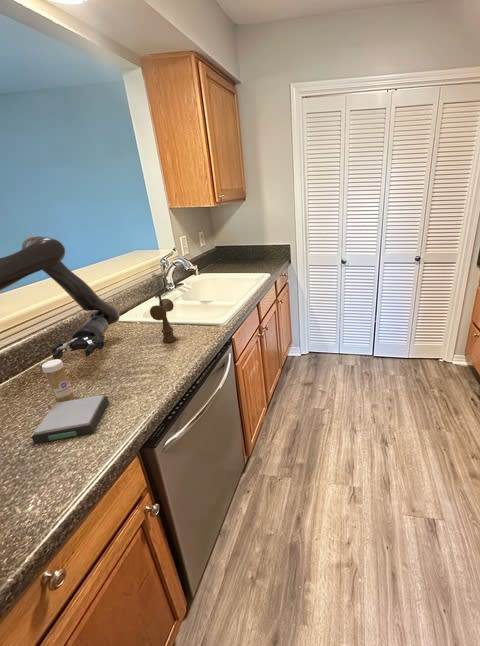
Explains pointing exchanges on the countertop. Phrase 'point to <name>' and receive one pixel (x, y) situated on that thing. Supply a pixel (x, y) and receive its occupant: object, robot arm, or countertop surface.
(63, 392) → the sprinkles bottle
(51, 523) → the countertop surface
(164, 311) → the kendama
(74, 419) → the kitchen scale
